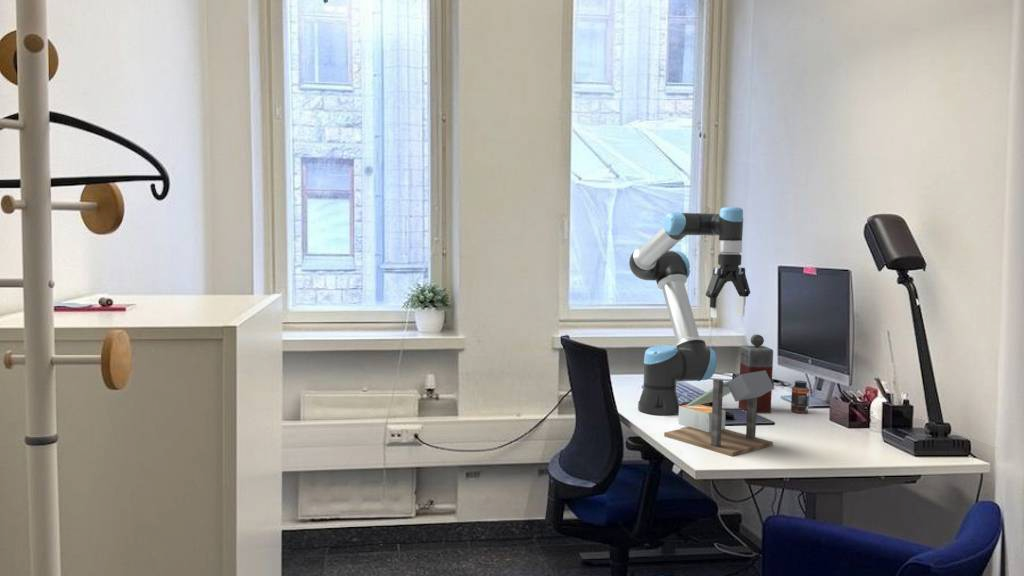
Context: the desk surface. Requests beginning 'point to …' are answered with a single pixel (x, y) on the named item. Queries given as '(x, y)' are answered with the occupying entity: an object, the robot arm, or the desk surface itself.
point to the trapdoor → (741, 388)
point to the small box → (698, 417)
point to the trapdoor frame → (723, 439)
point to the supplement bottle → (800, 397)
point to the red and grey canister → (757, 369)
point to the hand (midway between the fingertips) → (727, 316)
